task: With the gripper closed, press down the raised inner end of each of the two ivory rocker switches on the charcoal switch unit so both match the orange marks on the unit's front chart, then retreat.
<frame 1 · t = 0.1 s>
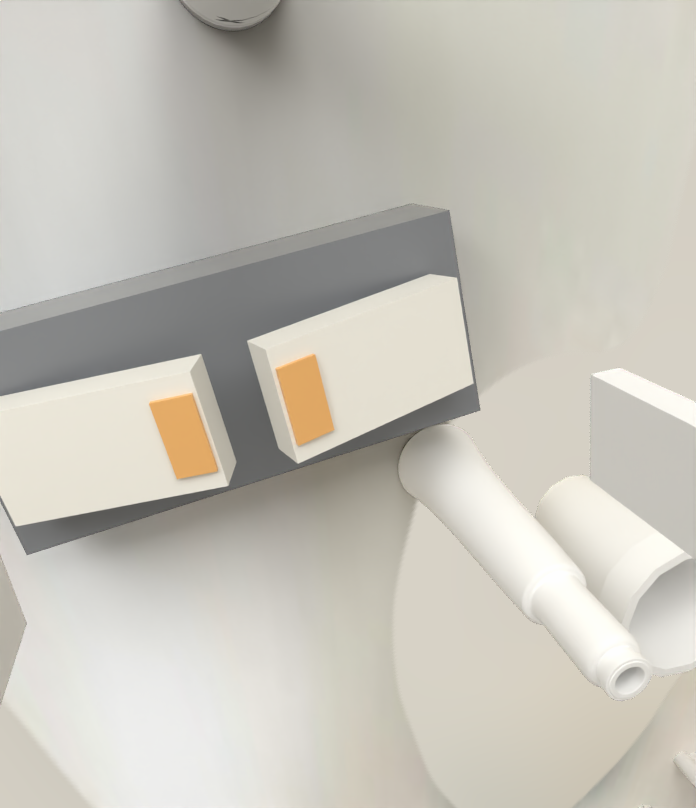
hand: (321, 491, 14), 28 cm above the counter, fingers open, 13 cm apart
rocker A: (105, 442, 32), point 9 cm above the counter, hinge at 15.0°
switch unit: (227, 354, 41), on the counter
foam cup: (569, 509, 52), on the counter
cosmetic bottle: (436, 461, 48), on the counter
rocker B: (368, 364, 34), point 9 cm above the counter, hinge at -15.0°
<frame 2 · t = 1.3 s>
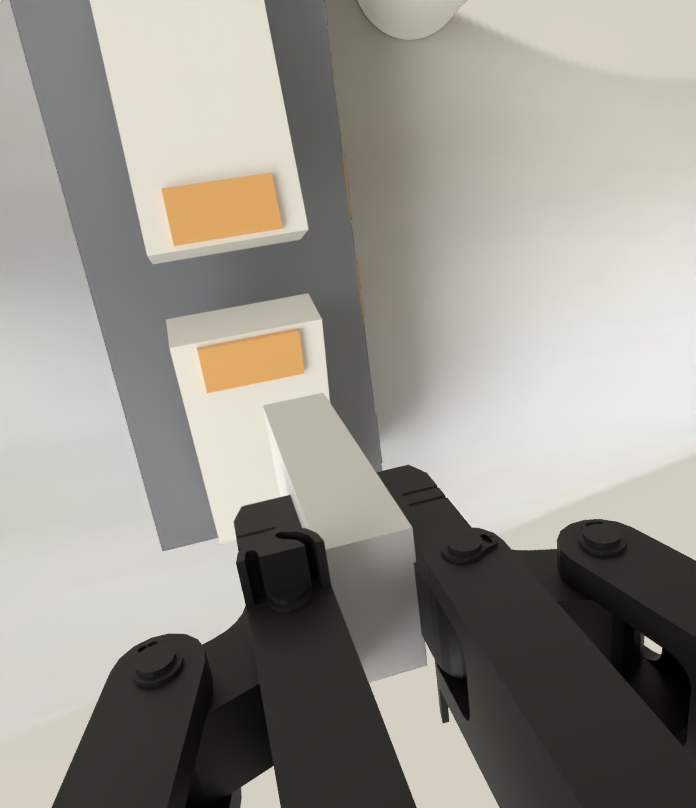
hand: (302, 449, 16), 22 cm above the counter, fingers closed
rocker A: (262, 427, 30), point 9 cm above the counter, hinge at 15.0°
switch unit: (218, 252, 35), on the counter
rocker B: (198, 99, 25), point 9 cm above the counter, hinge at -15.0°
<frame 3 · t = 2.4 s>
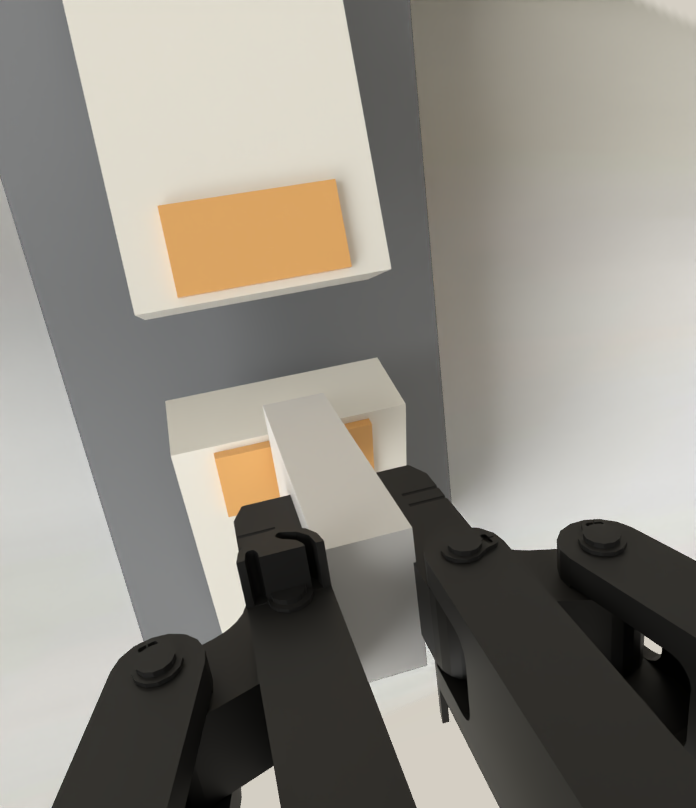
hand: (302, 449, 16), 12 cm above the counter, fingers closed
rocker A: (304, 546, 21), point 9 cm above the counter, hinge at 15.0°, touching gripper
switch unit: (236, 284, 26), on the counter
rocker B: (216, 63, 16), point 9 cm above the counter, hinge at -15.0°
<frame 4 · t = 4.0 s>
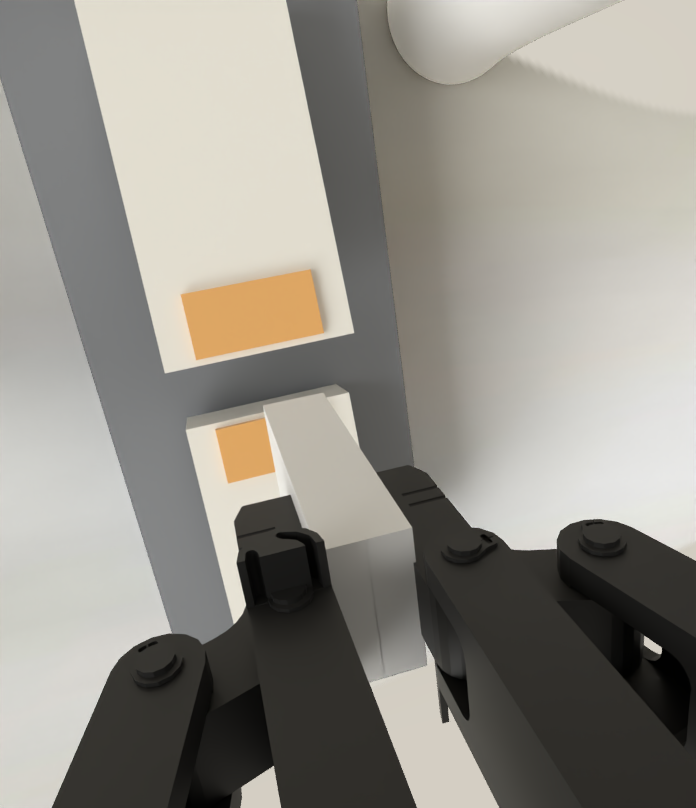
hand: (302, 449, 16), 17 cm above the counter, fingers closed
rocker A: (295, 540, 26), point 9 cm above the counter, hinge at -10.4°
switch unit: (239, 325, 32), on the counter
cosmetic bottle: (449, 10, 29), on the counter
rocker B: (221, 182, 21), point 9 cm above the counter, hinge at -15.0°
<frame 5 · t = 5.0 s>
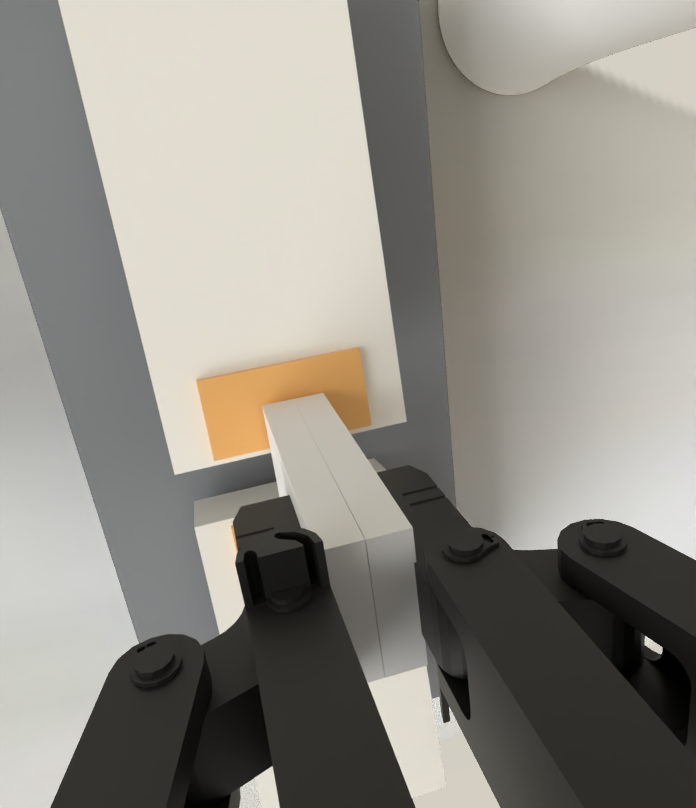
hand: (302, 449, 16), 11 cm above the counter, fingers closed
rocker A: (324, 649, 21), point 9 cm above the counter, hinge at -10.6°
switch unit: (252, 373, 27), on the counter
cosmetic bottle: (509, 7, 25), on the counter
rocker B: (247, 225, 16), point 9 cm above the counter, hinge at -7.3°, touching gripper
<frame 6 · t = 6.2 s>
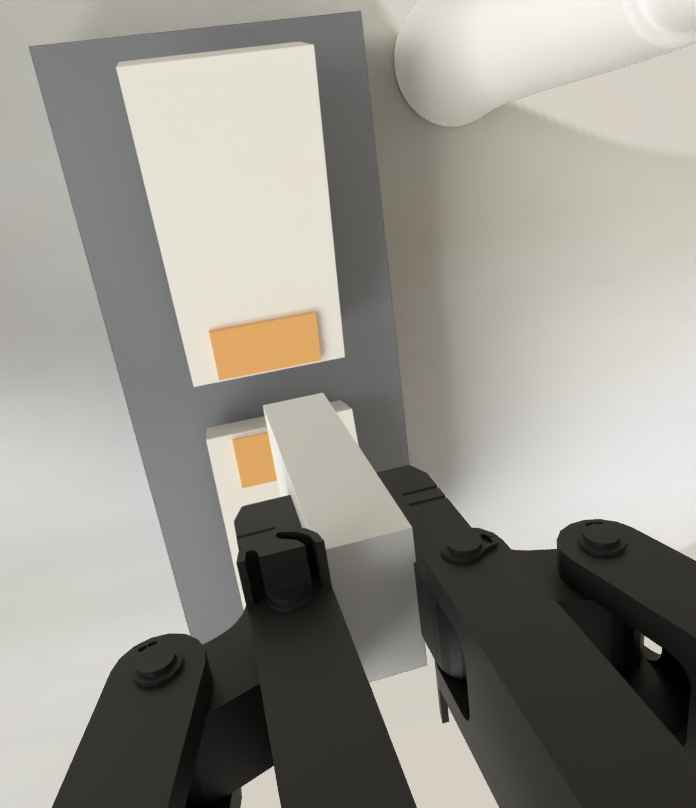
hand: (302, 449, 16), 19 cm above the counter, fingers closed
rocker A: (301, 540, 29), point 9 cm above the counter, hinge at -10.6°
switch unit: (253, 342, 34), on the counter
cosmetic bottle: (451, 60, 32), on the counter
rocker B: (243, 225, 24), point 9 cm above the counter, hinge at 10.6°
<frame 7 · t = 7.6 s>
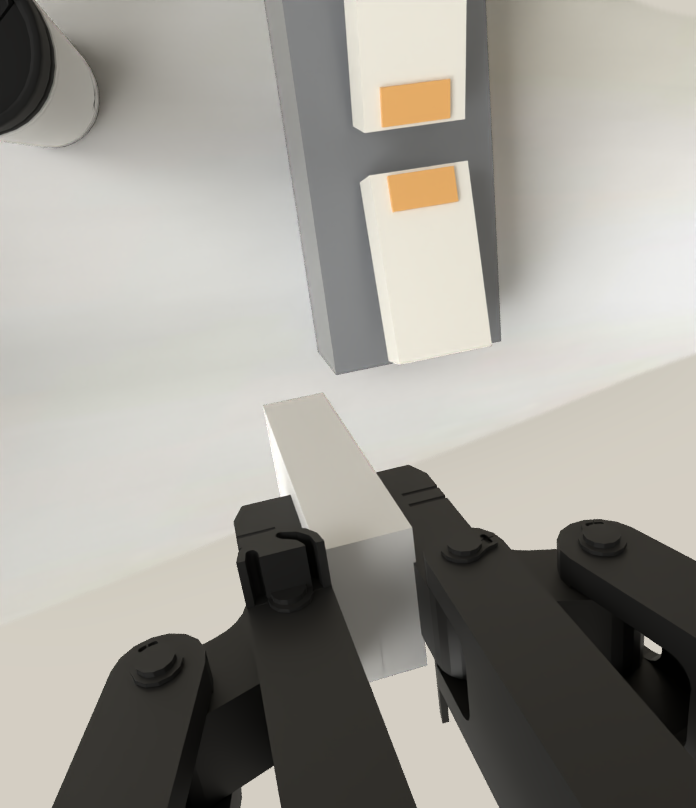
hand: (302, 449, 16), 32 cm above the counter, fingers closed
rocker A: (427, 264, 40), point 9 cm above the counter, hinge at -10.6°
switch unit: (373, 150, 46), on the counter
travel mug: (47, 90, 40), on the counter
rocker B: (405, 12, 35), point 9 cm above the counter, hinge at 11.0°
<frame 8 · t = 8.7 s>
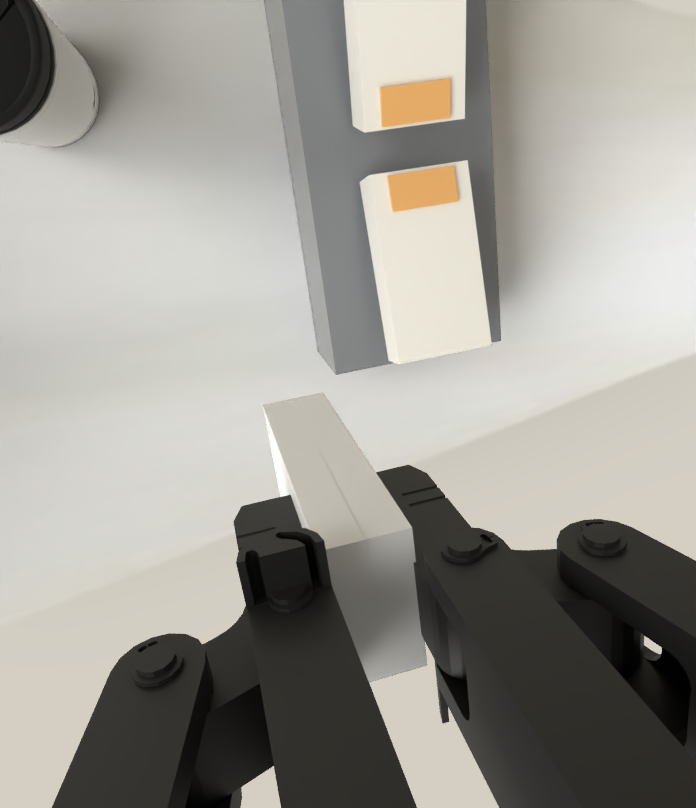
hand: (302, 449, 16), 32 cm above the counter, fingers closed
rocker A: (427, 264, 40), point 9 cm above the counter, hinge at -10.6°
switch unit: (373, 149, 46), on the counter
travel mug: (47, 90, 40), on the counter
rocker B: (405, 12, 35), point 9 cm above the counter, hinge at 11.0°
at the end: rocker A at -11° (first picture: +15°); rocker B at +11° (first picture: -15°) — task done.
